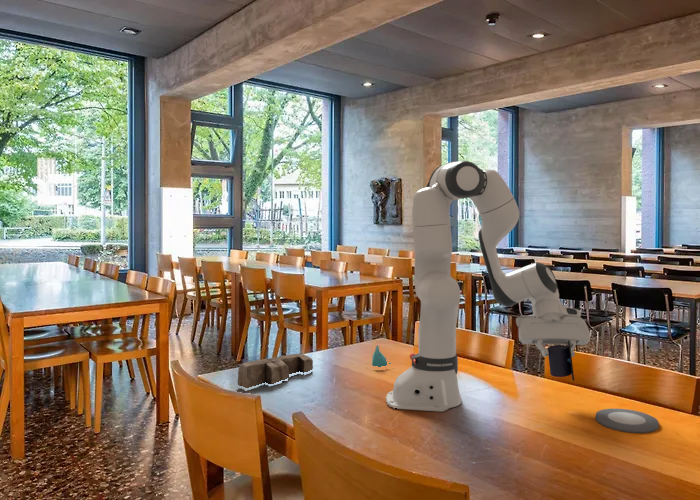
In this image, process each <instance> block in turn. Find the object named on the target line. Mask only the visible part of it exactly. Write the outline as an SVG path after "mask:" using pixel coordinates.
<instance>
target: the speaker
mask: <svg viewBox="0 0 700 500" xmlns="http://www.w3.org/2000/svg"><path fill="white" fill-rule="evenodd" d="M547 348H548V352H549V355H548V356H547V357H548V363H549V371H550V372H549V373H550V376H552V377H555V378H566V377H568V376H569V377H570V376H571V379H572V381H575V374H574V367H573V357H572V356H571V347H570V342H569V341H568V345H558V344H552V345H549V346H548V347H547Z"/></svg>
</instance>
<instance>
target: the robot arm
mask: <svg viewBox="0 0 700 500" xmlns="http://www.w3.org/2000/svg"><path fill="white" fill-rule="evenodd" d="M468 198H469V199H470V200H471V202H473V203H474V204H475V207H476V210H477V211H478V214H479V216H480V219H481V228H480V229H479V231H478V243H479V246H480V250H481V254H482V257H483V260H484V265H485V267H486V271H487V275H488V278H489V282H490V286H491V287H490V288H491V292H492V296H493V298H494V300H495V301H496V303H497V304H499V305H501V306H504V307H506V308H507V307H509V308H510V307H513V306H514V305H517V304H519V303H521V302H524V301H526V300H527V301H528V300H530V303H531V304H532V307H531V308H532V315H531V314H529V315H523V314H522V315H519V316H517V317H516V318H515V324H516V326H517V328H518V340H519V342H520V343H521V344H523V345H525V344H526V345H535V346H536V348H537V349H538V350H539V351H540V352H541V356H542V357H548V355H549V352H548V347H547V348H546V347H544V345H566V346H568V341H569V342H570V347H571V356H572V358H574V357H575V355H576V354H575V348H576V346H587V344H588V343H589V342H590V340H591V333H590V330H589V328H588V325H587V323H586V321H585V320H584V319H583V318H582V317H581V316H582V313H581V310H579V309H578V308H577V309H576V308H572V307H569V306H567V305H564V304H563V303H562V302H561V300H560V293H559V288H558V283H557V279H556V276H555V274H554V272H553V270H552V269H551V268H550V267H549V266H547V265H546V264H544V263H542V262H532V263H531V264H528V265H525V266H522V267H520V268H518V269H515V270H512V271H510V272H507V273H506V272H504V271H503V270H502V269H503V268H502V266H501V262H500V259H499V254H498V251H497V246H498V244H500V242H501V241H502V240H503V239H504V238H505V237H506V236H508V235H509V234H510V233H511V231H512V230H513V229H514V228H515V227H516V225H517V223H518V221H519V219H520V210H519V209H520V208H519V207H518V204H517V200H515V198H514V195H513V194H512V192H511V190H510V187H509V186H508V185H507V183H506V181H505V180H504V179H503V177H502V176H501V174H499V172H497V171H496V170H494V169H481V168H480V167H479V166H478V165H477V164H475V163H473V162H472V161H468V160H457V161H449V162H447V163H445V164H443V165H439V166H438V167H436V168H435V169H434V170H433V171H432V173H431V175H430V177H429V179H428V183H427V185H426V187H423V188H421V189H419V190H417V191H416V192H415V193H414V196H413V197H412V208H411V209H412V210H411V220H412V235H413V236H412V237H413V248H414V291H415V294H416V297H418V299H419V300H420V313H419V314H420V315H419V316H420V317H419V323H418V324H419V325H418V328H417V329H418V332H417V333H418V334H417V335H418V341H417V342H418V352H417V353H415V352H410V354H409V360H411V366H410V367H408V369H406V370H404V372H403V371H402V373H401V374H399V375H398V376H396V378H395V380H394V385H393V388H392V389H393V390H391V391H389V392H387V394H386V396H385V401H386V402H387V403H386V405H387V406H388V405H389V406H388V407H390V406H391V407H393V408H392V409H395V408H397V409H398V410H410V411H411V410H413V411H427V412H440V413H441V412H446V411H447V410H449V409H451V408H455V407H458V406H460V405H461V404H462V402H463V401H462V398H461V394H460V389H459V382H458V375H457V374H458V371H459V359H458V355H457V324H458V323H457V322H458V315H459V307H460V300H461V297H462V296H461V294H462V293H461V289H460V285H459V283H458V282H457V280H456V279H455V278H453V277H452V274H451V272H452V271H451V269H452V268H451V265H452V254H453V238H452V229H451V218H450V209H451V204H452V203H453V201H455V200H458V201H459V200H460V199H468ZM391 407H390V408H391Z"/></svg>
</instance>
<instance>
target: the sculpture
mask: <svg viewBox="0 0 700 500" xmlns="http://www.w3.org/2000/svg"><path fill="white" fill-rule="evenodd" d="M312 369H313V370H314V360H313V358H312V357H310V356H308V355H307V354H302V353H292V354H286V355H281V356H275V357H269V358H263V359H258V360H257V359H256V360H253V361H245V362H243V363H241V364H240V365H239V366H238V370H237V371H238V372H237V376H238V377H237V386H238V385H239V386H243V387H245V388H249V387H252V386H256V385H259V384H262V383H265V382H266V383H268V384H274V383H276V382H279V381H281V380H285V379H287V378H289V374H292V373H296V372H299V371H300V372H303V373H304V372H308V371H310V370H312ZM289 379H290V378H289Z"/></svg>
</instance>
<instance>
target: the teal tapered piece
mask: <svg viewBox="0 0 700 500" xmlns="http://www.w3.org/2000/svg"><path fill="white" fill-rule="evenodd" d="M386 360H387V358H386V356H385V355H384V354H382V352H381V351H380V347H379V345H375V350H374V352H373V354H372V360H371V364H372V365H373V366H378V367H381V366H386V365H387V361H386ZM389 364H391V363H389Z"/></svg>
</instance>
